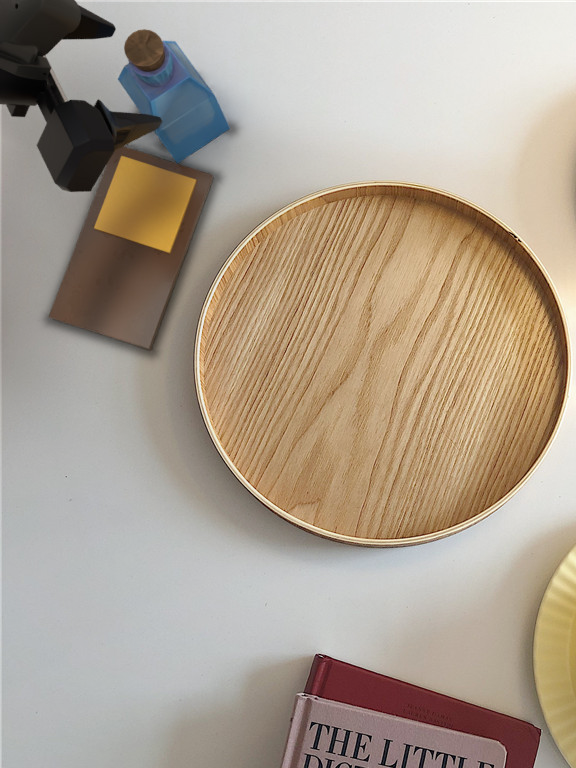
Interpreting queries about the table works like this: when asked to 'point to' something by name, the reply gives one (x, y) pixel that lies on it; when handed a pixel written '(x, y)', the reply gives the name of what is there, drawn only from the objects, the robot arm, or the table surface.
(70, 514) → the table surface
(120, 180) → the stand
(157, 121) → the robot arm
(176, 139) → the perfume bottle
